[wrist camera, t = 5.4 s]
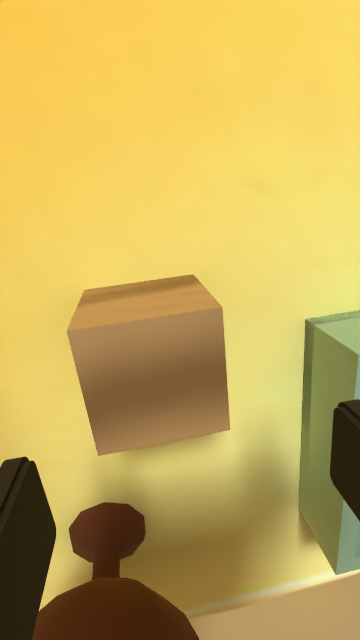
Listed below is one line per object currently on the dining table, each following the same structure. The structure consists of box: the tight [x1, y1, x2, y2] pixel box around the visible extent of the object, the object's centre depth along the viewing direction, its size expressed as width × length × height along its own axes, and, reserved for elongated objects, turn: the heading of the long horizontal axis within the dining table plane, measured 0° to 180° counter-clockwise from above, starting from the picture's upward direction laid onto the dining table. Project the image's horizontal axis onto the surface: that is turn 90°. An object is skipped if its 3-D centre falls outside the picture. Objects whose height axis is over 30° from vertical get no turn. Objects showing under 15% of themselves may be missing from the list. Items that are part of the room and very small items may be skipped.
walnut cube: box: [67, 275, 230, 456], centre depth 17 cm, size 6×6×6 cm
